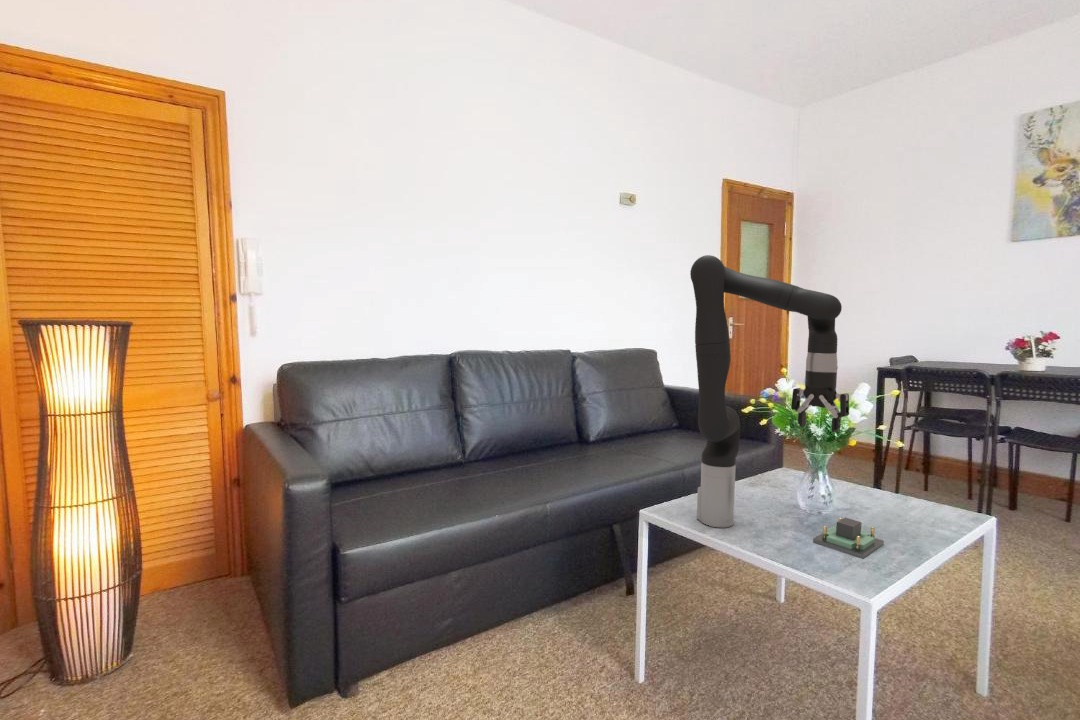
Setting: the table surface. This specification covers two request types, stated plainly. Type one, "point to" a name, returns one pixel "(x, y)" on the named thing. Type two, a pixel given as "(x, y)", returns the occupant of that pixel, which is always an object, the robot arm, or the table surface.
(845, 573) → the table surface
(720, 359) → the robot arm
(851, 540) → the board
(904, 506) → the table surface
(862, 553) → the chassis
